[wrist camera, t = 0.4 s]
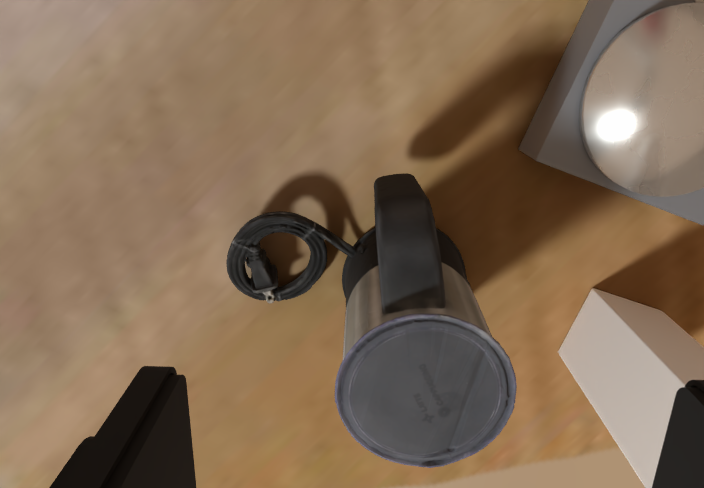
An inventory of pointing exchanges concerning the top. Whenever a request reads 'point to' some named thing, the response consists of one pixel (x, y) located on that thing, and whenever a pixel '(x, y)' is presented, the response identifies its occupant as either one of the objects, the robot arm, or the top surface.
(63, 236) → the top surface
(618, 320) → the milk
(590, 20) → the scale base
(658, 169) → the platform
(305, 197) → the top surface
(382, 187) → the milk frother
